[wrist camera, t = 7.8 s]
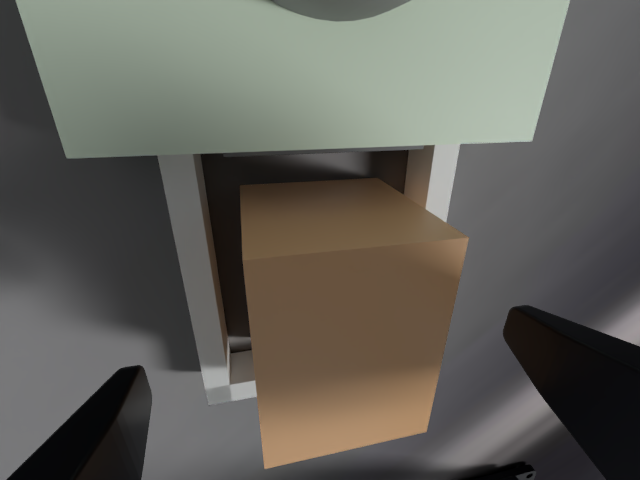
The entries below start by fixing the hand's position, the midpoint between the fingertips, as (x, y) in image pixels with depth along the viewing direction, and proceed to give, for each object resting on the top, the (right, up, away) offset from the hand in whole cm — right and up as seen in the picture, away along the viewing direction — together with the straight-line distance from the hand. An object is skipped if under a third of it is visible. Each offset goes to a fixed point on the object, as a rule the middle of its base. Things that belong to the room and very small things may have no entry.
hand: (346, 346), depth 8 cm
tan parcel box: (-1, +2, +4) cm, 5 cm away
